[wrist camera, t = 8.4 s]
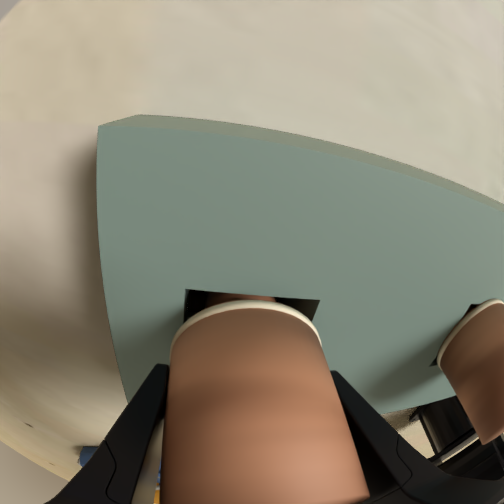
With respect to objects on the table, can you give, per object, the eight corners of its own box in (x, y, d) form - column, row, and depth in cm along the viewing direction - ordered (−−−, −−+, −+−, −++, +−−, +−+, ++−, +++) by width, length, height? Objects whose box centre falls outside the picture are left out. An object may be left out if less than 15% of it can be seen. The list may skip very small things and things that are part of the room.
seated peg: (448, 328, 17) (511, 427, 9) (396, 331, 17) (463, 457, 8) (483, 266, 15) (569, 364, 7) (434, 259, 14) (539, 387, 6)
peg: (282, 339, 15) (323, 520, 7) (178, 332, 14) (165, 527, 6) (312, 250, 12) (415, 473, 4) (183, 235, 11) (142, 502, 3)
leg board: (436, 360, 20) (456, 394, 17) (142, 362, 16) (132, 417, 13) (517, 211, 14) (556, 239, 10) (138, 114, 10) (98, 126, 6)
